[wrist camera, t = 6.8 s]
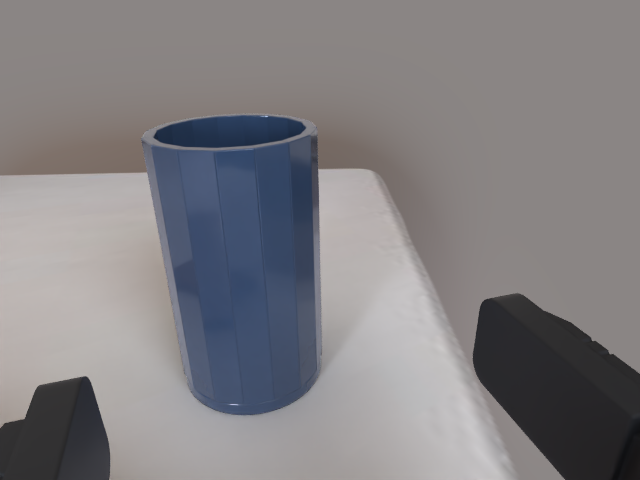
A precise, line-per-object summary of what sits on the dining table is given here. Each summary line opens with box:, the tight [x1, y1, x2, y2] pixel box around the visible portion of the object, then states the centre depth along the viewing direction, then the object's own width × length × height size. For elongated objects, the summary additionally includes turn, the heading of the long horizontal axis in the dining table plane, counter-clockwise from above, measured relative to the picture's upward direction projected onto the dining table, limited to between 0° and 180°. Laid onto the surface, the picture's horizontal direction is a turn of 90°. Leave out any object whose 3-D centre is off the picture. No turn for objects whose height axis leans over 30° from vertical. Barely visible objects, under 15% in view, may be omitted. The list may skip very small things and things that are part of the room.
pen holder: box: [141, 114, 322, 415], centre depth 19 cm, size 6×6×11 cm
